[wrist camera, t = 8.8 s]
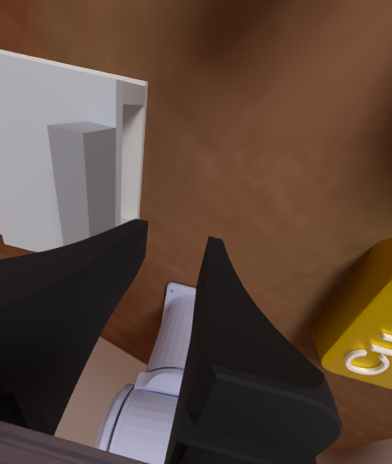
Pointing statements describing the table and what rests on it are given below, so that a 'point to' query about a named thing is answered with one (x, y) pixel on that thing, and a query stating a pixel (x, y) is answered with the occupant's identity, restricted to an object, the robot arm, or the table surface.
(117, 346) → the table surface
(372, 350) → the element tile
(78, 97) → the lid
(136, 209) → the housing
